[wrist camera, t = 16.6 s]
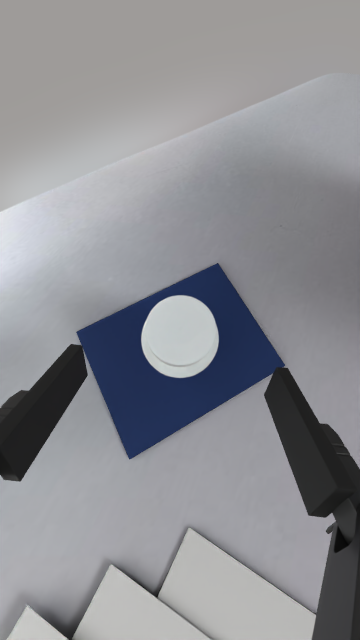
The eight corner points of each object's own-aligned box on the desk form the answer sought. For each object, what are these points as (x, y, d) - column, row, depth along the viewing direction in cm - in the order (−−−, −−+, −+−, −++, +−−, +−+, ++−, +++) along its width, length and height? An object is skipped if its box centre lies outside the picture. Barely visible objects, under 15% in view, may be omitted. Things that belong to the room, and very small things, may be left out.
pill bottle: (165, 315, 21) (156, 269, 12) (213, 335, 21) (242, 302, 11) (143, 363, 20) (114, 354, 11) (193, 385, 19) (209, 395, 10)
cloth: (217, 264, 23) (217, 262, 23) (283, 365, 20) (285, 365, 20) (77, 332, 21) (76, 331, 21) (130, 458, 18) (129, 459, 18)
